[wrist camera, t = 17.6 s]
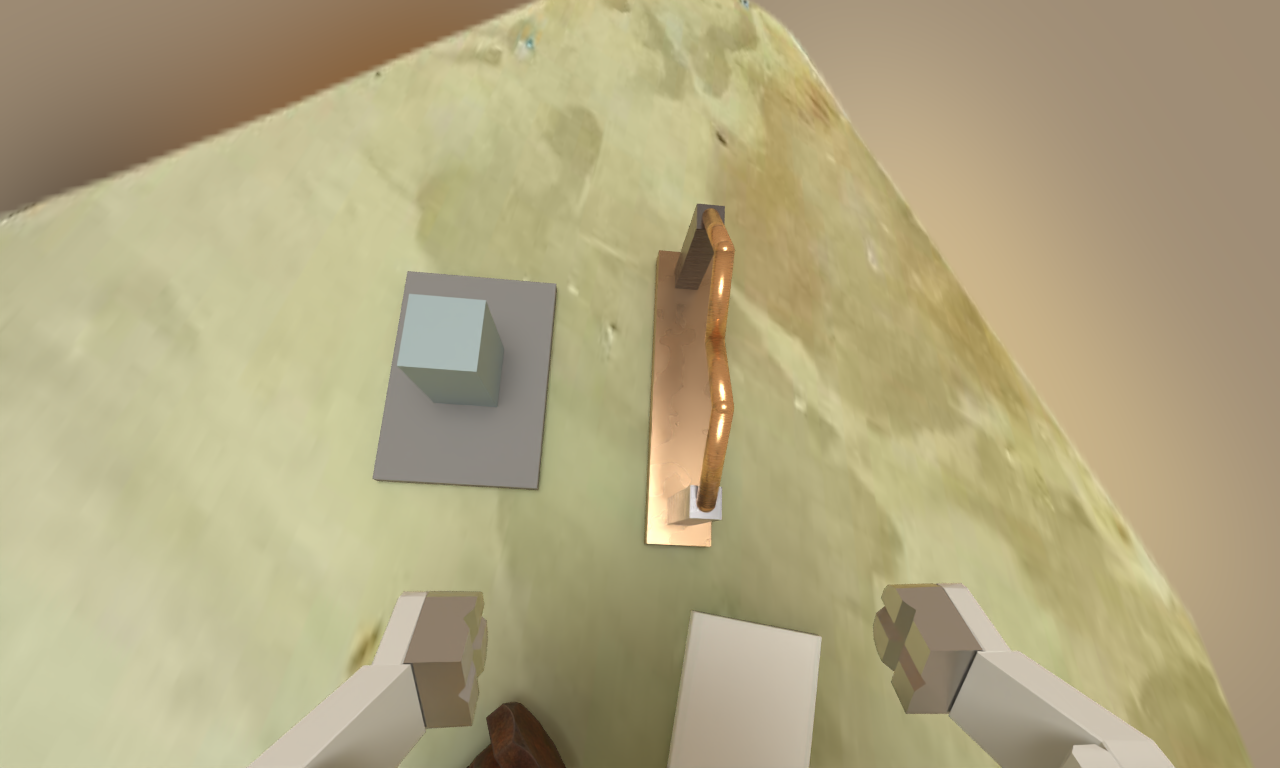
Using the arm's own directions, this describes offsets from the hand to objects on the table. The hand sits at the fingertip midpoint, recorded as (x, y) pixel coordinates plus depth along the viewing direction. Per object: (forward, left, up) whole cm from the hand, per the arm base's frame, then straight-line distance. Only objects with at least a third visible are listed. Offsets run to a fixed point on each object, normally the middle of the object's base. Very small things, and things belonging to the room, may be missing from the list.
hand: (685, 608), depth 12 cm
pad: (+12, +10, -26) cm, 30 cm away
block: (+12, +10, -25) cm, 30 cm away
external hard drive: (-9, -8, -27) cm, 30 cm away
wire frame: (+12, -4, -26) cm, 29 cm away
